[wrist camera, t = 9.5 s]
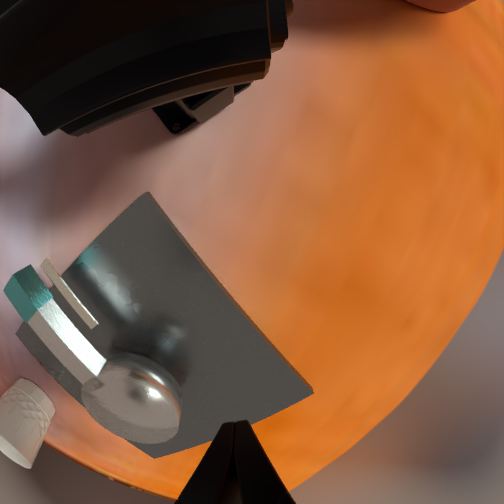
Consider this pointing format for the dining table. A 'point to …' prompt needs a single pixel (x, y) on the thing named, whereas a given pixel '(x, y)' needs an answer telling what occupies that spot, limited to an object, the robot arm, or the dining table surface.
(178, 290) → the lock base
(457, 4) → the potted cactus
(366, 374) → the dining table surface
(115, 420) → the teal-tipped lever
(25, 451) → the white cup
